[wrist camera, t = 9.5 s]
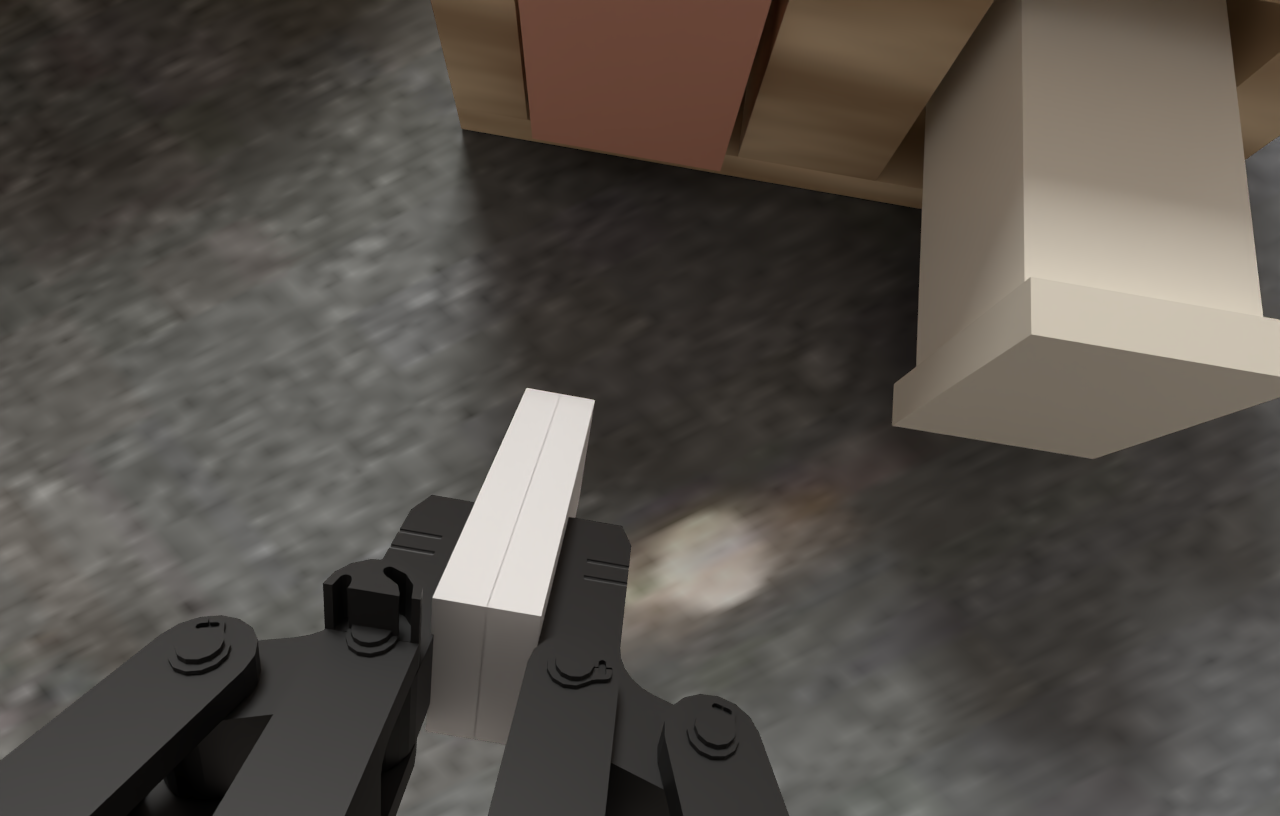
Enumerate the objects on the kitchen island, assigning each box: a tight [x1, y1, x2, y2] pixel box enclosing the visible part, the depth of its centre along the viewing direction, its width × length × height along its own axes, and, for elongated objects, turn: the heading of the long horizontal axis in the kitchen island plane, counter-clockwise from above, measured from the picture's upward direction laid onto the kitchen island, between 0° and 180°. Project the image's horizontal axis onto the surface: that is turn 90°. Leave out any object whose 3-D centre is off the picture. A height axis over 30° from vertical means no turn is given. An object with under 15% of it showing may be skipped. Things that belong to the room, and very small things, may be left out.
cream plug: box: [892, 0, 1280, 459], centre depth 19 cm, size 17×6×6 cm, turn 172°
